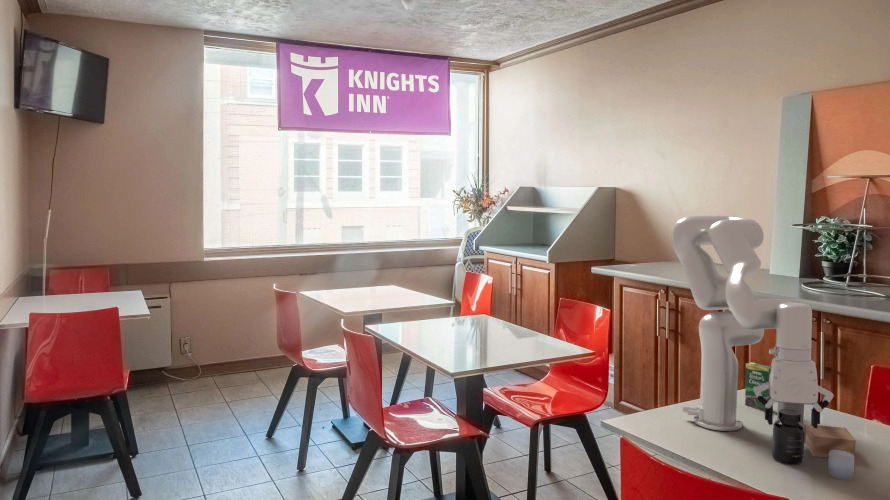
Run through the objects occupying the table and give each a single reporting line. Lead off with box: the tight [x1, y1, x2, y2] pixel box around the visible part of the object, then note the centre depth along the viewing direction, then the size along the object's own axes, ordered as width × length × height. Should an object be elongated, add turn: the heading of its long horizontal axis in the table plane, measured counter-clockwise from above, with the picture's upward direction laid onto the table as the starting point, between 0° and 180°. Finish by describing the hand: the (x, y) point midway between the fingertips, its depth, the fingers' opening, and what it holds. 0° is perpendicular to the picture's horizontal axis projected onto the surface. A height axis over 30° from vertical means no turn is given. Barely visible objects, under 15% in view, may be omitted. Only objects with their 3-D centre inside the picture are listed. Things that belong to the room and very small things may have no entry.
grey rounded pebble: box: [827, 450, 855, 481], centre depth 153 cm, size 5×5×5 cm
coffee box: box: [744, 362, 774, 411], centre depth 201 cm, size 8×3×13 cm, turn 30°
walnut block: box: [804, 423, 857, 461], centre depth 167 cm, size 9×9×5 cm
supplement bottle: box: [771, 409, 806, 466], centre depth 162 cm, size 7×7×12 cm
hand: (791, 425), depth 161 cm, fingers open, 9 cm apart
